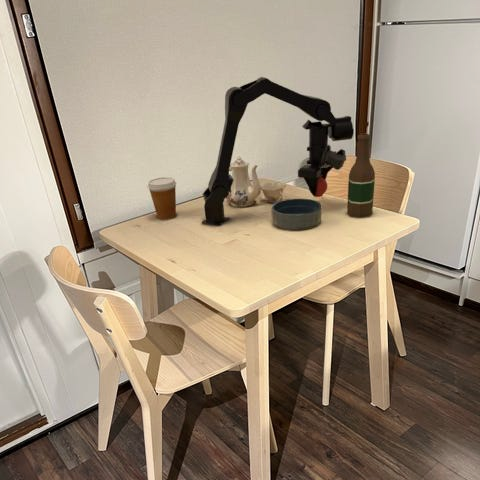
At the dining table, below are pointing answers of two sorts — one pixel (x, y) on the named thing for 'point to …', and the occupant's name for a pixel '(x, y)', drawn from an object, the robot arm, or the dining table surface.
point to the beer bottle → (361, 181)
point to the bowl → (296, 214)
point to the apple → (321, 187)
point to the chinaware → (250, 186)
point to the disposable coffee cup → (163, 196)
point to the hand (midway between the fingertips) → (317, 192)
